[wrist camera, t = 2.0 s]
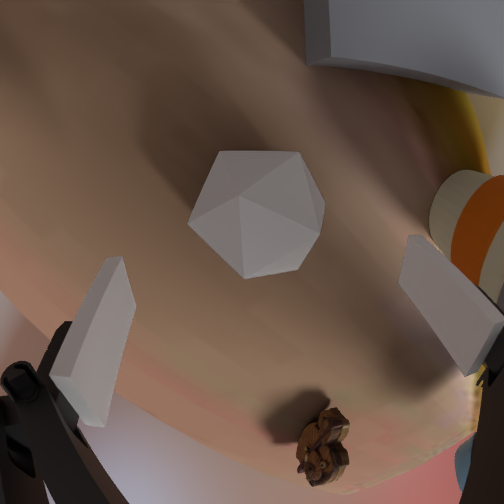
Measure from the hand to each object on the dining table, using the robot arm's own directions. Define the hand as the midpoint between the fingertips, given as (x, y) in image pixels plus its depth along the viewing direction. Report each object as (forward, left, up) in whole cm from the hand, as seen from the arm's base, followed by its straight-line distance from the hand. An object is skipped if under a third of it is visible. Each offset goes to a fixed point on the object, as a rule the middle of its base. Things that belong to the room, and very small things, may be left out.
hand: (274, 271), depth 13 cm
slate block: (-12, -18, -12) cm, 25 cm away
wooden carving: (-8, +36, -12) cm, 39 cm away
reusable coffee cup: (-21, +2, -12) cm, 24 cm away
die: (0, 0, -12) cm, 12 cm away
